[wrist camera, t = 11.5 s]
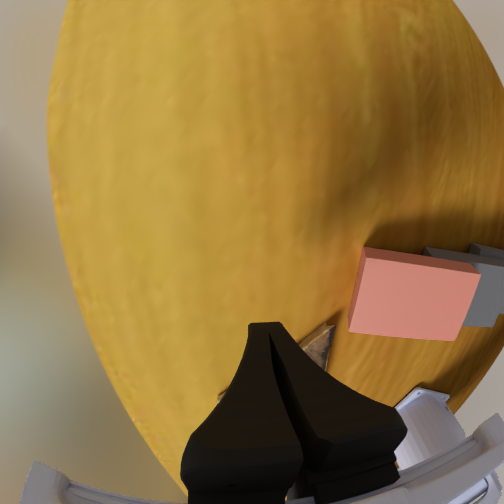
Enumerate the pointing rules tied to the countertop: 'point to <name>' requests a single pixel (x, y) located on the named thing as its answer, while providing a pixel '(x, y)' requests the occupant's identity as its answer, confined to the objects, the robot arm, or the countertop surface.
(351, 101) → the countertop surface
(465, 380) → the countertop surface
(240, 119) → the countertop surface
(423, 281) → the red domino
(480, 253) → the domino
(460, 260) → the domino
